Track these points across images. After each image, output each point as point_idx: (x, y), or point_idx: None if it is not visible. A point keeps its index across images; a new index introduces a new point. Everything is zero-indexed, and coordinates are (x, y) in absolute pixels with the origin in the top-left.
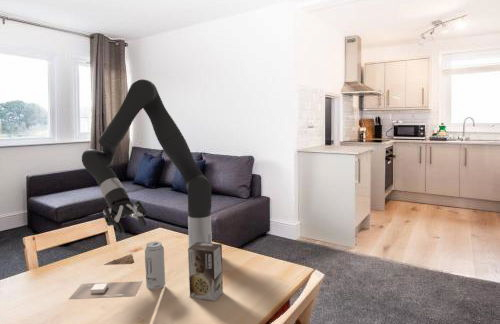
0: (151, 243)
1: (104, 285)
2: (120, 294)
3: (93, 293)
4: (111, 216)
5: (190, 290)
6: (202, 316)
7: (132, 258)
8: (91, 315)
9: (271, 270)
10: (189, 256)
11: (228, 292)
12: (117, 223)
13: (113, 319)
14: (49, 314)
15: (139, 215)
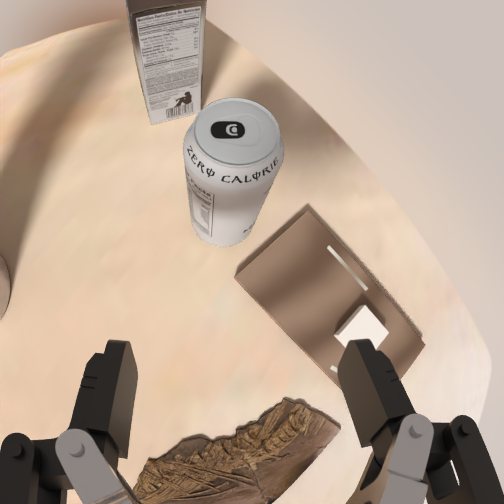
0: (235, 151)
1: (352, 328)
2: (332, 254)
3: None
4: (467, 472)
5: (201, 98)
6: (244, 57)
7: (140, 481)
8: (407, 237)
9: (14, 85)
10: (204, 19)
11: (135, 72)
12: (402, 418)
13: (380, 182)
14: (455, 317)
15: (102, 453)
